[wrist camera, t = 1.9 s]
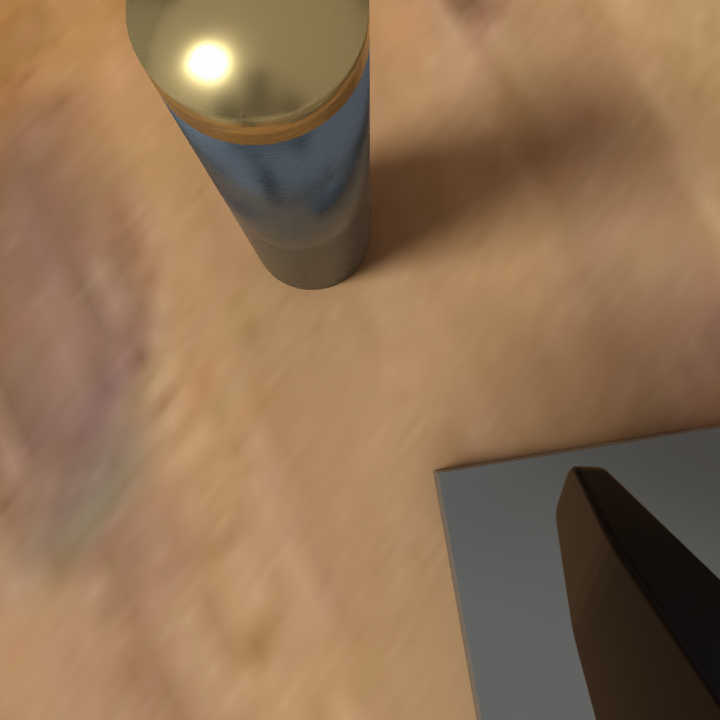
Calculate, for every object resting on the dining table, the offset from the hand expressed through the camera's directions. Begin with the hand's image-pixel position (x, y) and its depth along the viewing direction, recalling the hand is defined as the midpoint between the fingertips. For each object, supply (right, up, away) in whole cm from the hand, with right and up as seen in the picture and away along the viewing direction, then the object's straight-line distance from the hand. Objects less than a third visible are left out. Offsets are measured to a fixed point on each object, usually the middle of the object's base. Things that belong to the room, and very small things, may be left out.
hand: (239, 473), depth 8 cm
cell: (0, +6, +14) cm, 16 cm away
